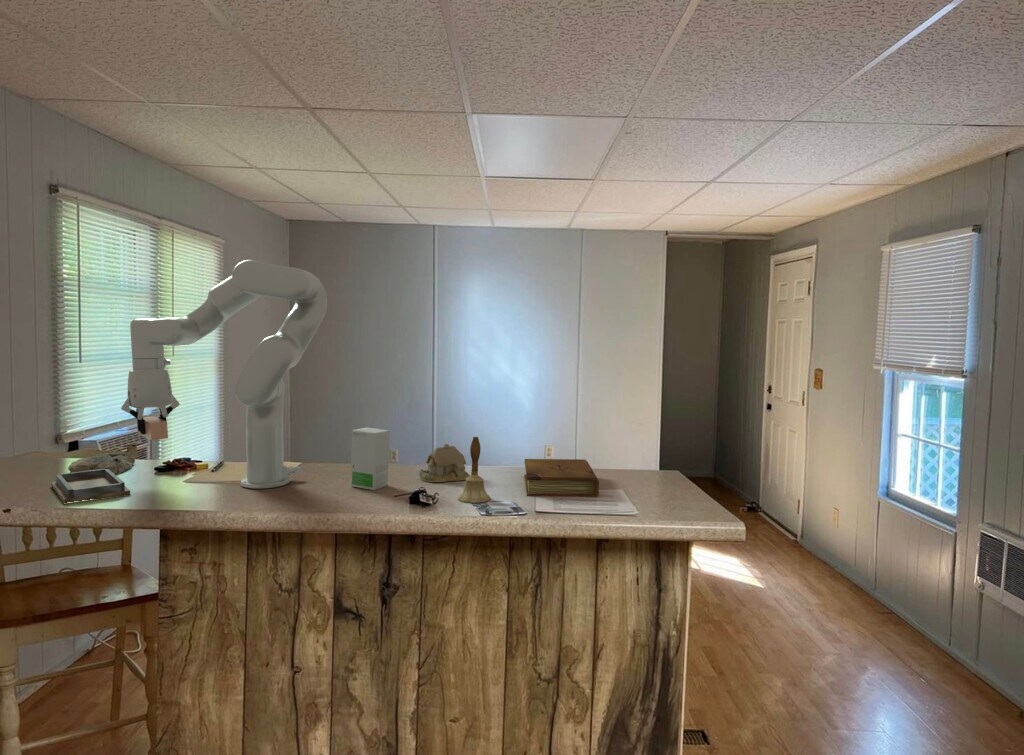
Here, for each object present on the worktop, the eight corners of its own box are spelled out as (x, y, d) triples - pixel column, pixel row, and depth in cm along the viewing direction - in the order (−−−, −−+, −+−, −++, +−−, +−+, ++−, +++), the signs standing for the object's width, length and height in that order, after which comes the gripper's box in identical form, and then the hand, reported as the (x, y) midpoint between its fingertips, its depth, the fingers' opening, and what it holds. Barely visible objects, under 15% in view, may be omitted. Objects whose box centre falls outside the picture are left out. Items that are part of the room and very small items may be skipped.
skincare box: (350, 486, 180) (349, 430, 178) (365, 481, 185) (365, 426, 184) (375, 490, 176) (374, 432, 175) (390, 485, 182) (390, 429, 181)
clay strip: (154, 432, 185) (153, 416, 185) (168, 438, 175) (167, 421, 174) (138, 434, 182) (137, 417, 182) (151, 440, 172) (150, 423, 172)
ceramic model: (455, 472, 200) (455, 439, 199) (476, 479, 191) (476, 445, 190) (414, 478, 191) (414, 444, 190) (434, 486, 182) (434, 450, 182)
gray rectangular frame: (112, 479, 185) (111, 467, 184) (130, 495, 168) (129, 482, 168) (51, 486, 175) (51, 474, 175) (64, 504, 159) (63, 491, 159)
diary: (598, 499, 173) (599, 477, 172) (526, 498, 172) (527, 476, 172) (587, 478, 196) (588, 458, 195) (524, 477, 195) (524, 458, 195)
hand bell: (471, 493, 175) (472, 433, 173) (496, 498, 170) (497, 436, 169) (451, 499, 168) (451, 437, 167) (476, 505, 163) (477, 441, 162)
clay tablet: (104, 463, 207) (60, 476, 187) (104, 447, 206) (60, 459, 186) (149, 464, 207) (110, 478, 187) (149, 449, 206) (110, 461, 187)
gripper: (178, 362, 185) (182, 427, 187) (109, 365, 174) (114, 434, 176) (186, 363, 180) (189, 430, 181) (115, 367, 169) (120, 438, 170)
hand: (152, 432), depth 178 cm, fingers closed on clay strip, 4 cm apart
